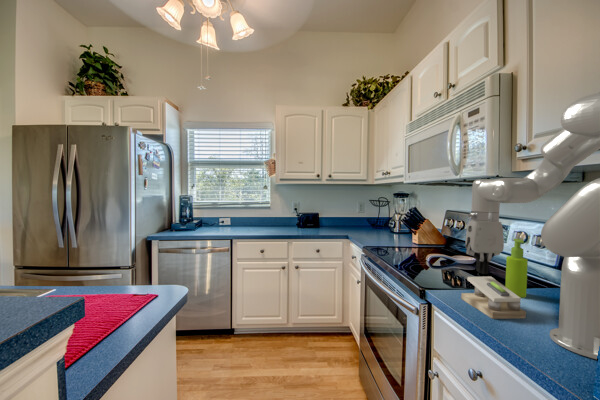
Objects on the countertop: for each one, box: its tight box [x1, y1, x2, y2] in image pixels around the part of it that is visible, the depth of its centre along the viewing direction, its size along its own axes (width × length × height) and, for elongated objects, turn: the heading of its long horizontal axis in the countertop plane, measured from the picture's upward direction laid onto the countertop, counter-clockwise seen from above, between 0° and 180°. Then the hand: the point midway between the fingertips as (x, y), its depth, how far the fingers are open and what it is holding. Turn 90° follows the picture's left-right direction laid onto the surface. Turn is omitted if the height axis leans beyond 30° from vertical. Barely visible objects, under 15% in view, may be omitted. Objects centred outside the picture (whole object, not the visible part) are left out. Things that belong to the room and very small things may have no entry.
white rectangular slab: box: [466, 276, 522, 303], centre depth 84 cm, size 12×8×3 cm, turn 3°
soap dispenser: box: [504, 238, 529, 299], centre depth 95 cm, size 6×7×20 cm
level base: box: [460, 286, 527, 320], centre depth 85 cm, size 14×10×4 cm
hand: (482, 272), depth 89 cm, fingers closed
